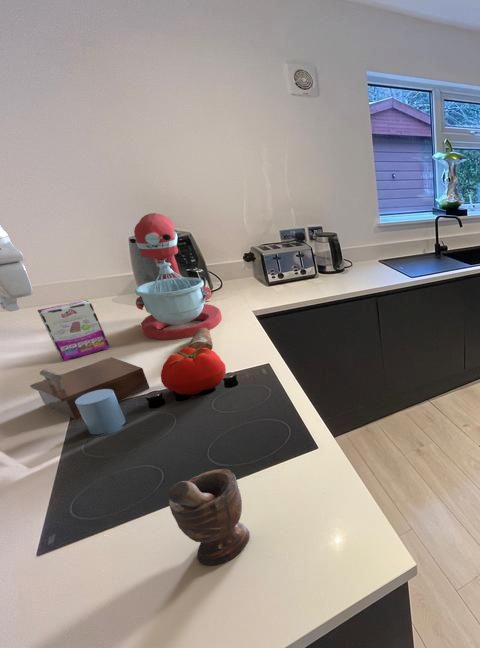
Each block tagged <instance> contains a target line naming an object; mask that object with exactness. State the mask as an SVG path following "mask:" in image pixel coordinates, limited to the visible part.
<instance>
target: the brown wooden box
mask: <svg viewBox="0 0 480 648" xmlns="http://www.w3.org/2000/svg"><path fill="white" fill-rule="evenodd" d="M102 389H111V390H113V391H114V393H115V396H116V398H117V400H118V402H121V401H123V400H125V399H128V398H130V397H132V396H135V395H137V394H140V393H142V392H145V391H147V390H149V389H151V388H150V385H149V382H148V379H147V376H146V374H145V371H144V370H143V371H141V372H138V373H136V374H133V375H131V376H128V377H125V378H123V379H120V380H118V381H115V382H112V383H110V384H107V385H105V386H102V387H100V388H97V389H94V390H92V391H89V392H93V391H96V390H102ZM37 392H38V394H39V396H40V398H41V400H42V403H43V404H44V405H45V406H46V407H49V408H50V409H53V410H55V411H57V412H58V413H61V414H63V415H64V416H67V417H69V418H71V419H73V420H78V419H81V418H82V416H81V414H80V412H79V410H78V408H77V406H76V404H75V401H76V399H78V398H79V397H80V396H82V395H84V394H87V393H89V392H87V393H84V394H81V395H79V396H76V397H74V398H71V399H69V400H66V401H63V402H60V401H58V400H56V399H54V398H52V397H50V396H47V395H45V394H43V393H41V392H39V391H37Z"/></svg>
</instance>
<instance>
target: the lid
mask: <svg viewBox="0 0 480 648" xmlns="http://www.w3.org/2000/svg"><path fill="white" fill-rule="evenodd" d="M143 368H144V367H140V366H137V365H135V364H132V363H129V362H127V361H124V360H121V359H118V358H116V357H113V356H111V357H108V358H105V359H102V360H98V361H96V362H93V363H91V364H88V365H84V366H81V367H78V368H76V369H73V370H70V371H67V372H64V373H61V374H59V373H57V372H54V371H52V370H50V369H47V368H44V369H41V370H40V371H39V375H41V376H42V377H44V378H45V379H44V380H41V381H38V382H35V383H32V384H29V387H30V388H31V389H33V390H35V391H37V392H38V391H39V392H41V393H43V394H45V395H47V396H50V397H52V398H54V399H56V400H58V401H60V402H63V401H66V400H69V399H71V398H74V397H76V396H79V395H81V394H84V393H87V392H89V391H92V390H94V389H97V388H100V387H102V386H105V385H107V384H110V383H112V382H115V381H118V380H120V379H123V378H125V377H128V376H131V375H133V374H136V373H138V372H141V371H144V369H143ZM39 392H38V393H39Z"/></svg>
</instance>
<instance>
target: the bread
mask: <svg viewBox="0 0 480 648" xmlns="http://www.w3.org/2000/svg"><path fill="white" fill-rule="evenodd" d="M187 347H189V348H194V349H198V348H199V349H200V347H201V348H208V349H210V350H212V351H213V347H214V345H213V341H212V336H211V333H210V330H208V329H207V328H200V329H198V330H197V331H196V333H195V334H194V336H192V337H191V340H190V341H189V344H188V345H187Z"/></svg>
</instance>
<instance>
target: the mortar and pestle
mask: <svg viewBox="0 0 480 648" xmlns="http://www.w3.org/2000/svg"><path fill="white" fill-rule="evenodd" d="M167 497H168V499H169V500H168V501H169V502H168V506H169V509H170V513H171V515H172V516H173V518H174V519H175V522H176V524H177V526H178V528H179V529H180V531H181V532H182V533H183V534H184V535H185V536H186V537H188V538H189V539H190V540H191V541H193V542H196V543H200V544H199V545H198V549H197V555H196V559H197V561H198V562H199V564H201V565H205V566H216V565H221V564H223V563H226V562H228V561H231V560H233V559H234V558H235V557H237V556H238V555H239V554H240V553H241V551H244V548H245V547H246V546H247V544H248V542H249V541H250V537H251V535H250V530H249V529H248V527H247V526H246V525H245V524H244V523H241V522H240V520H241V516H242V513H243V512H242V510H243V500H242V496H241V490H240V488H239V484H238V481H237V477H236V475H235V474H234V472H232V471H231V470H230V469H226V468H223V469H221V468H219V469H212V470H209V471H205V472H203V473H202V472H201V473H200V474H199V475H196V476H193V477H191V478H190V479H189V480H182V481H179V482H176V483H174V484H173V485H171V487H169V489H168V492H167Z"/></svg>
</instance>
